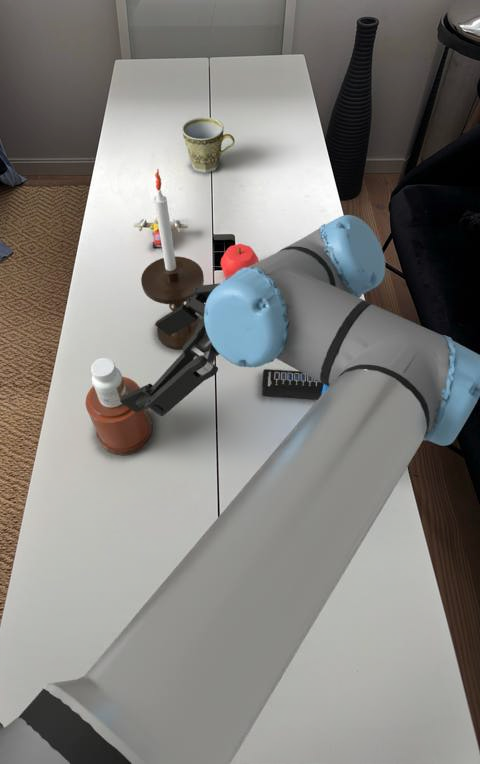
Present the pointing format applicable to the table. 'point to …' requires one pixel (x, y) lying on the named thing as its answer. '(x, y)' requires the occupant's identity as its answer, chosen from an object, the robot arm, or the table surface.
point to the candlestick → (171, 276)
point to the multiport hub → (290, 385)
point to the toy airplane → (155, 226)
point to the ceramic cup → (204, 142)
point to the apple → (237, 259)
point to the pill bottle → (108, 382)
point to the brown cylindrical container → (119, 423)
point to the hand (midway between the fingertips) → (146, 364)
